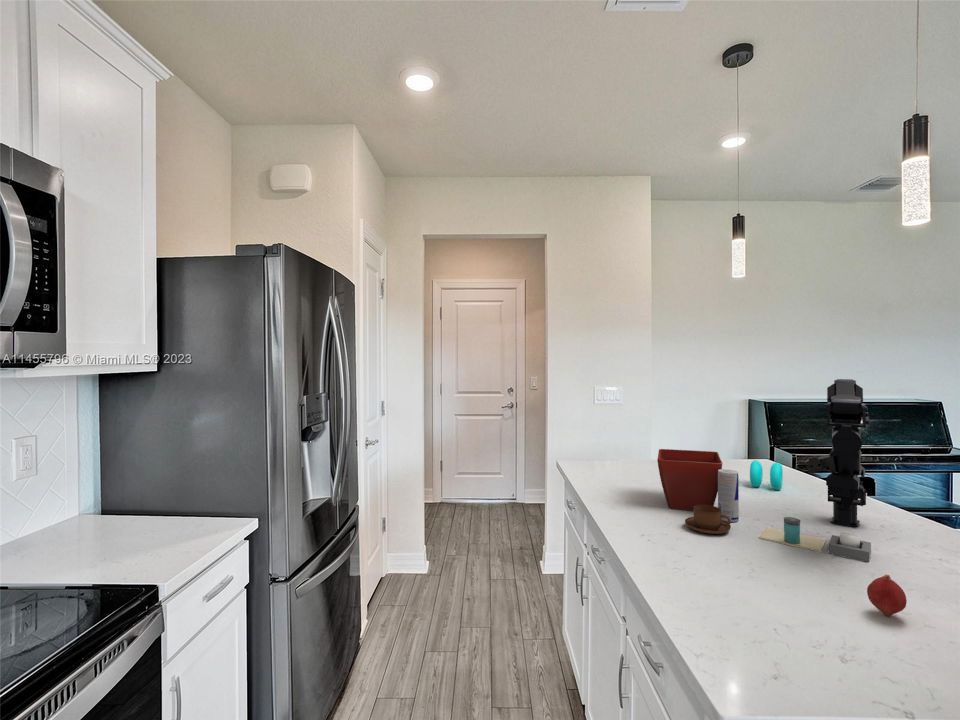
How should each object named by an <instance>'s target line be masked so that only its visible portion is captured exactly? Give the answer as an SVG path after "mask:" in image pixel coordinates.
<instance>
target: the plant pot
mask: <svg viewBox="0 0 960 720" xmlns="http://www.w3.org/2000/svg"><path fill="white" fill-rule="evenodd" d="M657 468H658V473H659V478H660V483H661V487H662V490H663V493H664V497H665V500H666V503H667V506H668V508H669V509H672V510H673V509H674V510H681V511H683V510H684V511H693V512H694V506H696V505H710V506H715V503H716V500H717V497H718V470H720V469H723V462H722V459H721V457H720V454H719V452H718V451H710V450H709V451H708V450H707V451H706V450H690V449H689V450H688V449H670V448H667V449H666V448H658V454H657Z"/></svg>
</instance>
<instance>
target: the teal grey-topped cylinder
mask: <svg viewBox="0 0 960 720" xmlns="http://www.w3.org/2000/svg"><path fill="white" fill-rule="evenodd" d="M783 530H784V541H785V542H787V543H790V544H800V534H801V520H800V519H799V518H797V517H792V516H784V517H783Z"/></svg>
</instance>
